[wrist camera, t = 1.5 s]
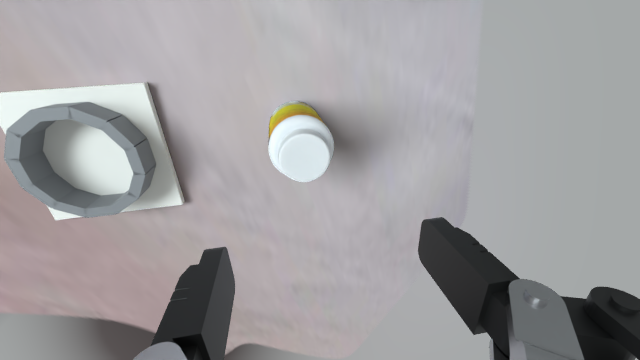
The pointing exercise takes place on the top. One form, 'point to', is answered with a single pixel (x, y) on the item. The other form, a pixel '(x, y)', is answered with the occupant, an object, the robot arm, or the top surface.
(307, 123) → the supplement bottle
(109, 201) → the ring holder
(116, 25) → the top surface
